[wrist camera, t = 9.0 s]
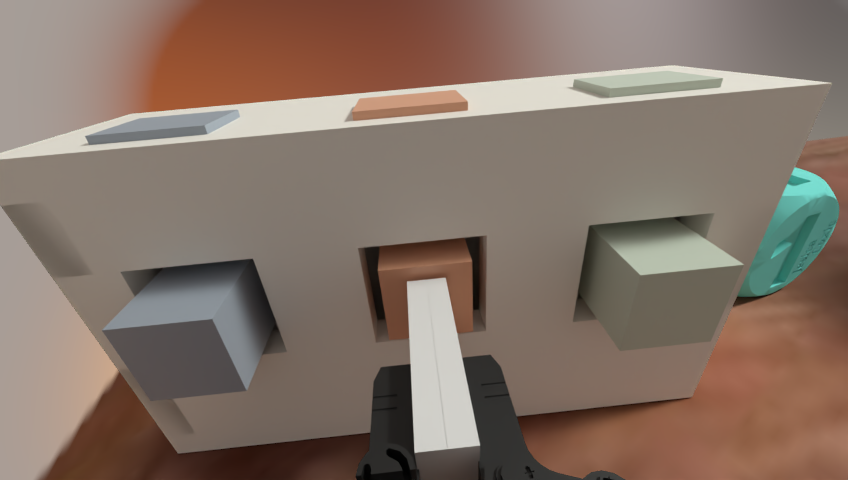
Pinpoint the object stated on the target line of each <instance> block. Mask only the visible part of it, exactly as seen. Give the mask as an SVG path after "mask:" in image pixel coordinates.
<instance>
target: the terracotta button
mask: <svg viewBox="0 0 848 480" xmlns="http://www.w3.org/2000/svg"><path fill="white" fill-rule="evenodd" d="M378 275H379V281H380V287H381V293H382V299H383V305H384V311H385V317H386V323H387V329H388V335H389V340H397V339H406V338H409V318H408V296H407V281H417V280H427V279H437V278H446V282H447V287H448V292H449V297H450V301H451V306H452V311H453V316H454V321H455V326H456V331H457V333H463V332H473V282H472V259H471V256H470V253H469V250H468V247H467V244H466V241H465V238H456V239H446V240H435V241H425V242H415V243H405V244H395V245H385V246H380V248H379V261H378Z"/></svg>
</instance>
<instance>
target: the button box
mask: <svg viewBox="0 0 848 480" xmlns="http://www.w3.org/2000/svg"><path fill="white" fill-rule="evenodd" d="M831 85H832V83H827V82H817V81H808V80H800V79H791V78H782V77H772V76H764V75H755V74H746V73H736V72H728V71H719V70H710V69H701V68H691V67H683V66H674V65H672V66H660V67H649V68H638V69H627V70H616V71H604V72H593V73H582V74H571V75H560V76H549V77H537V78H527V79H516V80H504V81H493V82H482V83H471V84H460V85H449V86H437V87H426V88H415V89H404V90H393V91H383V92H371V93H359V94H349V95H337V96H326V97H315V98H304V99H293V100H282V101H272V102H259V103H248V104H237V105H227V106H215V107H205V108H193V109H181V110H171V111H160V112H148V113H138V114H129V115H126V116H123V117H120V118H116V119H113V120H109V121H106V122H103V123H99V124H96V125H93V126H89V127H86V128H83V129H79V130H76V131H72V132H69V133H66V134H62V135H59V136H56V137H53V138H49V139H46V140H42V141H39V142H36V143H32V144H30V145H26V146H23V147H19V148H16V149H12V150H9V151H6V152H2V153H0V205H1V207H2V208H3V210H4V211H5V212H6V214H7V215H8V217H9V218H10V219H11V221H12V222H13V224H14V225H15V226H16V228H17V229H18V231H19V232H20V233H21V235H22V236H23V238H24V239H25V240H26V242H27V243H28V244H29V246H30V247H31V249H32V250H33V251H34V253H35V254H36V256H37V257H38V259H39V260H40V261H41V263H42V264H43V266H44V267H45V268H46V270H47V271H48V273H49V274H50V275H51V277H52V278H53V280H54V281H55V282H56V284H57V285H58V286H59V288H60V289H61V291H62V292H63V293H64V295H65V296H66V298H67V299H68V300H69V302H70V303H71V305H72V306H73V307H74V309H75V310H76V312H77V313H78V314H79V316H80V317H81V319H82V320H83V321H84V323H85V324H86V326H87V327H88V328H89V330H90V331H91V333H92V334H93V335H94V336H95V338H96V340H97V341H98V342H99V344H100V345H101V347H102V348H103V349H104V351H105V352H106V354H107V355H108V356H109V358H110V359H111V361H112V362H113V363H114V365H115V366H116V368H117V369H118V370H119V372H120V373H121V375H122V376H123V377H124V379H125V380H126V382H127V383H128V384H129V386H130V387H131V389H132V390H133V391H134V393H135V394H136V396H137V397H138V398H139V400H140V401H141V402H142V404H143V405H144V407H145V408H146V409H147V411H148V412H149V414H150V415H151V416H152V418H153V419H154V421H155V422H156V423H157V425H158V426H159V428H160V429H161V430H162V432H163V433H164V435H165V436H166V437H167V439H168V440H169V442H170V443H171V444H172V446H173V447H174V449H175V450H176V451H177V453H178V454H179V453H188V452H198V451H207V450H216V449H225V448H234V447H243V446H252V445H261V444H270V443H279V442H289V441H298V440H307V439H316V438H325V437H334V436H343V435H352V434H361V433H370V429H371V413H372V400H373V382H374V379H375V378H376V376H377V374H378V372H379V370H380V368H381V367H386V366H396V365H405V364H411V362H410V340H409V338H406V339H397V340H389V335H388V329H387V323H386V317H385V311H384V305H383V299H382V293H381V287H380V281H379V275H378V261H379V248H380V246H385V245H395V244H405V243H415V242H425V241H435V240H446V239H456V238H465V241H466V244H467V247H468V250H469V253H470V256H471V259H472V282H473V332H463V333H457V335H458V340H459V345H460V350H461V355H462V358H463V357H472V356H481V355H491V356H492V357H493V358H494V359H495V361H496V362H497V363H498V364H499V365H500V366H501V369H502V372H503V375H504V378H505V381H506V385H507V388H508V391H509V395H510V397H511V400H512V404H513V407H514V410H515V413H516V416H525V415H534V414H543V413H552V412H561V411H571V410H580V409H589V408H598V407H607V406H616V405H625V404H634V403H643V402H652V401H661V400H671V399H680V398H689V397H692V396H693V394H694V392H695V389H696V387H697V385H698V383H699V380H700V378H701V376H702V374H703V371H704V369H705V367H706V365H707V362H708V360H709V358H710V356H711V353H712V351H713V349H714V347H715V345H716V342H717V340H718V338H719V336H720V333H721V331H722V329H723V327H724V324H725V322H726V320H727V318H728V315H729V313H730V311H731V309H732V306H733V304H734V302H735V300H736V298H737V295H738V293H739V291H740V289H741V286H742V284H743V282H744V280H745V277H746V275H747V273H748V271H749V268H750V266H751V264H752V262H753V259H754V257H755V255H756V253H757V251H758V248H759V246H760V244H761V242H762V239H763V237H764V235H765V233H766V230H767V228H768V226H769V224H770V221H771V219H772V217H773V215H774V212H775V210H776V208H777V206H778V204H779V201H780V199H781V197H782V195H783V192H784V190H785V188H786V186H787V183H788V181H789V179H790V177H791V174H792V172H793V170H794V168H795V165H796V163H797V161H798V159H799V157H800V154H801V152H802V150H803V148H804V145H805V143H806V141H807V138H808V136H809V134H810V132H811V130H812V127H813V125H814V123H815V120H816V118H817V116H818V114H819V112H820V110H821V107H822V105H823V103H824V101H825V98H826V96H827V94H828V92H829V89H830V87H831ZM668 217H673V218H674V219H676V220H677V221H679V222H680V223H682V224H683V225H685V226H686V227H688V228H689V229H691V230H692V231H694V232H696V233H697V234H699V235H700V236H702V237H703V238H705V239H706V240H708V241H709V242H711V243H712V244H714V245H715V246H717V247H718V248H720V249H721V250H723V251H724V252H726V253H727V254H729V255H730V256H732V257H733V258H735V259H736V260H738V261H739V262H741V263H742V264H744V266H743V268H742V271H741V273H740V275H739V278H738V280H737V282H736V285H735V287H734V289H733V291H732V294H731V296H730V298H729V301H728V303H727V305H726V308H725V310H724V312H723V314H722V317H721V319H720V321H719V324H718V326H717V328H716V330H715V333H714V335H713V337H712V340H711V341H710V342H700V343H691V344H682V345H672V346H663V347H654V348H644V349H635V350H626V351H620V350H619V349H618V348H617V346H616V345H615V343H614V342H613V341H612V339H611V338H610V336H609V335H608V333H607V332H606V331H605V329H604V328H603V326H602V325H601V324H600V322H599V321H598V319H597V318H596V317H595V315H594V314H593V312H592V311H591V309H590V308H589V307H588V305H587V304H586V302H585V301H584V300H583V298H582V297H581V295H580V294H579V293H578V288H579V282H580V276H581V270H582V264H583V258H584V252H585V246H586V240H587V235H588V229H589V225H597V224H607V223H617V222H627V221H638V220H648V219H658V218H668ZM244 259H253V260H254V263H255V266H256V268H257V271H258V274H259V277H260V279H261V282H262V285H263V287H264V290H265V293H266V296H267V298H268V301H269V304H270V307H271V309H272V312H273V315H274V317H275V320H276V322H275V325H274V327H273V329H272V332H271V334H270V337H269V339H268V341H267V344H266V346H265V349H264V351H263V353H262V356H261V358H260V360H259V363H258V365H257V368H256V370H255V372H254V375H253V377H252V380H251V382H250V384H249V387H248V389H247V391H241V392H232V393H223V394H213V395H204V396H194V397H185V398H176V399H166V400H157V401H150V399H149V398H148V396H147V395H146V393H145V392H144V391H143V389H142V388H141V386H140V385H139V383H138V382H137V380H136V379H135V378H134V376H133V375H132V373H131V372H130V370H129V369H128V368H127V366H126V365H125V363H124V362H123V360H122V359H121V357H120V356H119V355H118V353H117V352H116V350H115V349H114V347H113V346H112V344H111V343H110V342H109V340H108V339H107V337H106V336H105V334H104V333H103V331H102V330H103V329H104V328H105V327H106V326H107V325H108V324H109V323H110V322H111V321H112V319H113V318H114V317H115V316H116V315H117V314H118V313H119V312H120V311H121V310H122V309H123V308H124V307H125V306H126V305H127V304H128V303H129V302H130V301H131V300H132V299H133V298H134V297H135V296H136V295H137V294H138V293H139V292H140V291H141V290H142V289H143V288H144V287H145V286H146V285H147V284H148V283H149V282H150V281H151V280H152V279H153V278H154V277H155V276H156V275H157V274H158V273H159V272H160V271H161V270H162V269H163V268H164V267H173V266H183V265H193V264H203V263H213V262H223V261H233V260H244Z"/></svg>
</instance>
